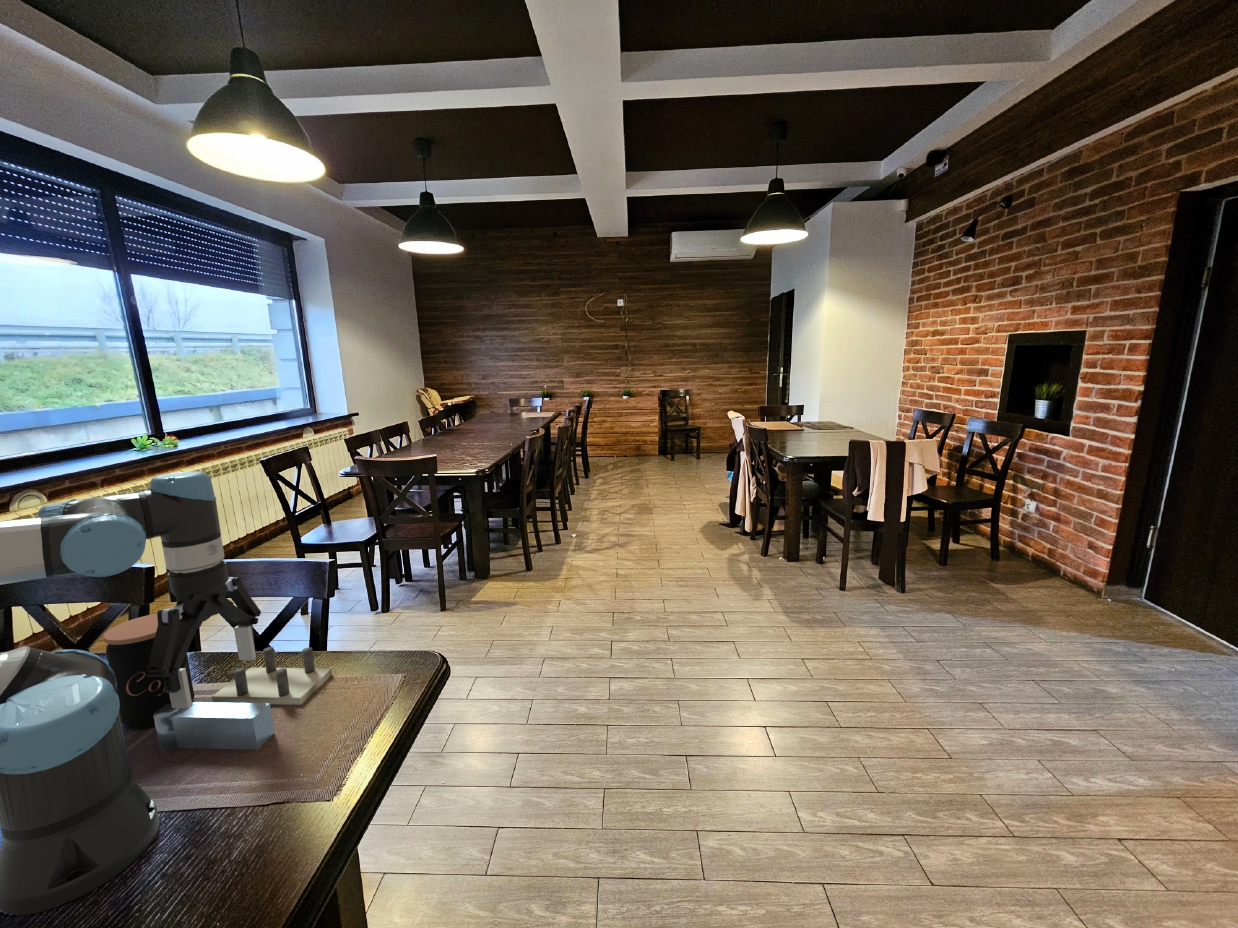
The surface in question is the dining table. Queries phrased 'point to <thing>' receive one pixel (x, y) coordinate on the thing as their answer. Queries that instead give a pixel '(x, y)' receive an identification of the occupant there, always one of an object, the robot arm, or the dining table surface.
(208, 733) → the bevelled metal block
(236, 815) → the dining table surface
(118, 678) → the coffee jar
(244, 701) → the peg rack
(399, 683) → the dining table surface
